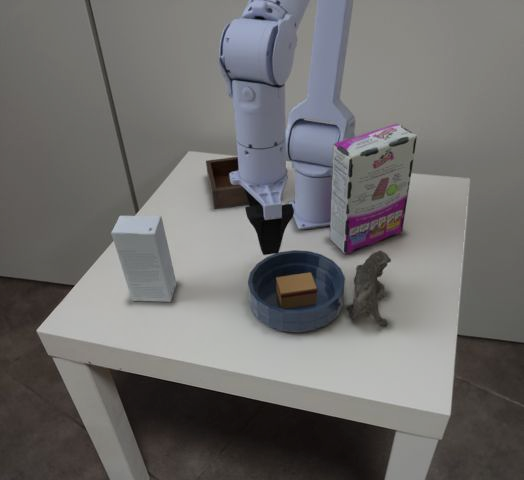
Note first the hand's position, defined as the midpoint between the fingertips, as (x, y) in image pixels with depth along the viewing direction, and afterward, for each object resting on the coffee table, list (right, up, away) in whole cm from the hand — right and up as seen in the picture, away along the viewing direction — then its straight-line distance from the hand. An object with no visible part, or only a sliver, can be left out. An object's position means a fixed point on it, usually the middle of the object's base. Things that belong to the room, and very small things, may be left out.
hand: (265, 235), depth 72 cm
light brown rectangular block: (+4, -8, +5) cm, 10 cm away
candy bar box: (+16, +3, +15) cm, 22 cm away
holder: (-4, +14, +26) cm, 30 cm away
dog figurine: (+15, -9, +4) cm, 18 cm away
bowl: (+4, -8, +5) cm, 11 cm away
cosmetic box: (-16, -7, +8) cm, 19 cm away
